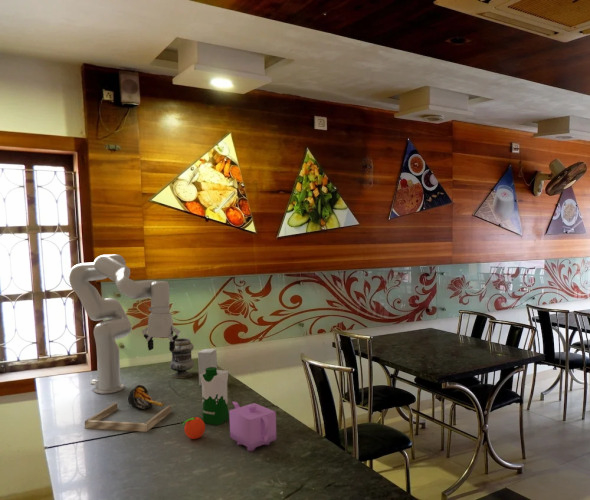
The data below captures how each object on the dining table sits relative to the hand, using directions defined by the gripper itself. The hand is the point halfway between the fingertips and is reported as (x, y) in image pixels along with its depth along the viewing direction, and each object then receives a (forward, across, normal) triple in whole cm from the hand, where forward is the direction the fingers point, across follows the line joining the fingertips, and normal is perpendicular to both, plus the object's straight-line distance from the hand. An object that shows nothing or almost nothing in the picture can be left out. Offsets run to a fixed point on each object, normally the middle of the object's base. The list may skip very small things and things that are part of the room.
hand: (161, 350), depth 204 cm
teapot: (+20, +50, -39) cm, 67 cm away
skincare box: (+20, +13, +21) cm, 32 cm away
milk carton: (+20, +32, -22) cm, 44 cm away
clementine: (+20, +30, -38) cm, 53 cm away
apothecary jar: (+21, -5, +32) cm, 38 cm away
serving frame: (+20, 0, -25) cm, 33 cm away
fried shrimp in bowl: (+21, 0, -13) cm, 25 cm away
